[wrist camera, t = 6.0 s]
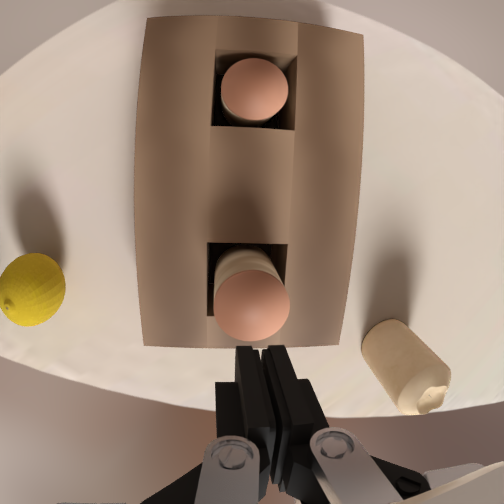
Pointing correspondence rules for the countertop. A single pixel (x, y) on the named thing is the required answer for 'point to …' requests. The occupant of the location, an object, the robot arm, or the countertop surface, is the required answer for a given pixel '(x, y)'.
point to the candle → (406, 367)
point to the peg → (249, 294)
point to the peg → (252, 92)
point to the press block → (246, 175)
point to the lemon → (31, 289)
